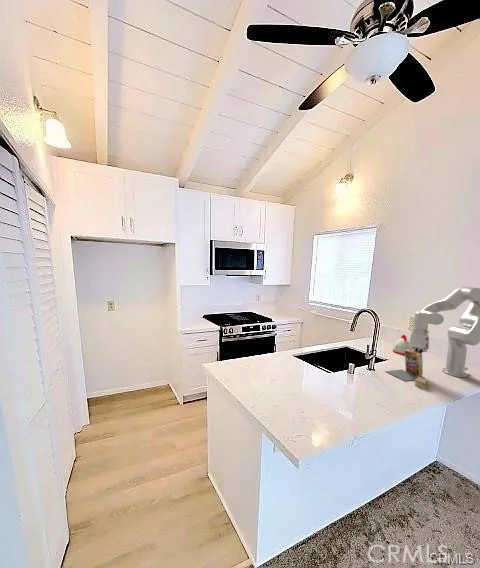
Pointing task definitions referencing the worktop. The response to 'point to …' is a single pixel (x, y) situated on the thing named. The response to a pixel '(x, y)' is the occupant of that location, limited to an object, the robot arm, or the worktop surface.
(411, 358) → the candy box
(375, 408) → the worktop surface
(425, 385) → the oak block
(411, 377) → the mat
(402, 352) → the kitchen timer
